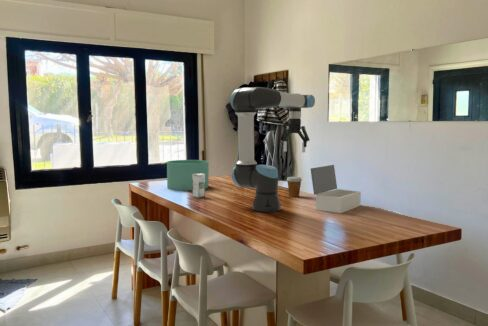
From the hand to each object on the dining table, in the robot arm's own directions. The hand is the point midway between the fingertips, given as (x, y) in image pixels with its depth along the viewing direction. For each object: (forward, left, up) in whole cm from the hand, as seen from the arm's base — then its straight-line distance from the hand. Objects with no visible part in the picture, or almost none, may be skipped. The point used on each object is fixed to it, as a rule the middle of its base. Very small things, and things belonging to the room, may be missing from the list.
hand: (294, 151), depth 262 cm
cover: (-19, -32, -13) cm, 39 cm away
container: (-19, +77, -28) cm, 84 cm away
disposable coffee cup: (-3, -2, -28) cm, 28 cm away
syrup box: (-43, +43, -28) cm, 67 cm away
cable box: (-19, -40, -28) cm, 52 cm away
